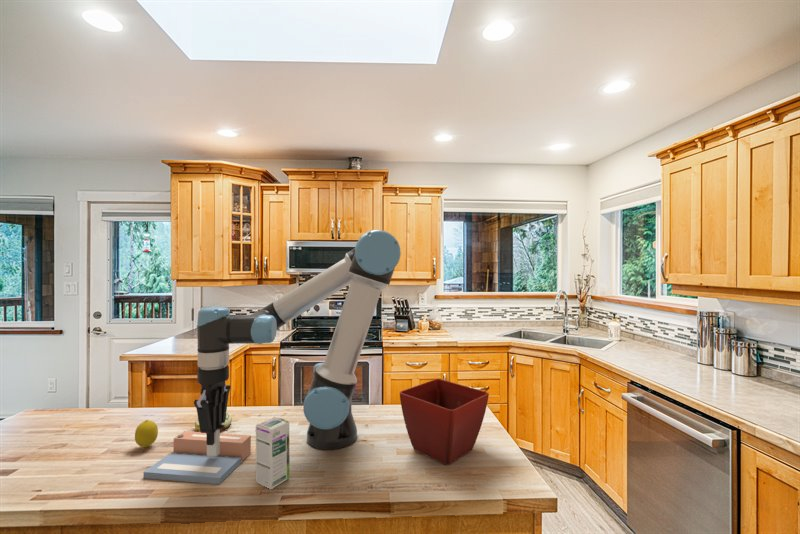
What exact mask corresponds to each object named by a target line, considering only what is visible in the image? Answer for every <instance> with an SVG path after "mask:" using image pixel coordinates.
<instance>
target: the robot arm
mask: <svg viewBox="0 0 800 534" xmlns="http://www.w3.org/2000/svg"><path fill="white" fill-rule="evenodd" d="M401 254H402V253H401V246H400V244H399V242H398V239H397V238H396V237H395V236H394V235H393V234H391V233H390V232H387V231H385V230H381V229H373V230H368V231H367V232H364V234H362V235H361V236H360V237H359V239H358V240H357V242H356V244H355V247H353V249H351V250H349V251H348V252H346V253H345V256H344V258H343V259H341V260H339V261H338V262H336V263H335V264H333V265H331V266H329V267H328V268H326V269H325V270H323V271H321V272H320V273H318V274H317V275H315V276H314V277H311V278H310V279H308V280H307V281H305V282H304V283H302V284H301V285H299V286H298V287H295V288H294V289H293V290H291V291H289V292H288V293H286V294H284V295H283V296H281V297H279V298H278V299H276V300H274V301H273V302H271V303H270V304H268V305H266V306H265V307H263V308H261V309H260V310H258V311H255V312H253V313H251V314H239V315H235V314H231V313H230V309H229V308H228V307H225V306H224V307H222V306H211V307H210V306H209V307H203V308H201V309H199V311H198V313H197V325H196V328H197V329H196V331H197V332H196V333H197V367H198V368H197V371H196V372H197V373H196V375H197V376H196V377H197V378H196V380H197V381H196V382H197V383H198V384H200V386H201V388H200V397H199V398H198V399H195V400H194V401H193V405H194V406H195V409H196V413H197V419H198V420H199V426H200V432H201V433H206V434H207V456H218V455H219V454H220V433H221V431H220V428H222V429H223V428H224V425H222V423H224V422H225V419H226V413H227V411H228V402H229V401H228V400H229V394H230V391H231V387H232V386H231V384H226V382H227V381H228V380H229V378H230V366H229V365H228V364H229V363H230V344H231V345H233V344H239V345H241V344H251V345H253V344H257V345H263V344H271V343H273V342H274V340H275V339H276V337H277V331H278V329H280V328H281V327H283V326H285V325H286V324H287V323H290V321H293V320H294V319H296V318H298V317H299V316H301V315H302V314H304V313H305V312H307V311H308V310H311V309H312V308H313V307H316V306H317V305H318V304H320V303H322V302H324V301H325V300H326V299H328V298H330V297H331V296H333V295H335V294H336V293H338V292H339V291H341V290H343V289H344V288H346V287H347V286H349V287H348V290H347V294H346V296H345V299H344V301H343V305H342V308H341V311H340V314H339V317H338V319H337V323H336V326H335V329H334V332H333V335H332V338H331V341H330V345H329V347H328V350H327V352H326V356H325V358H324V362H318V363H316V364H315V365H314V366H313V369H312V370H313V371H312V375H313V377H312V379H311V383H310V386H309V389H308V392H307V394H306V395H305V397H304V400H303V414H304V418H305V419H306V421H307V422H309V424H308V428H307V430H306V431H307V432H306V442H307V444H309V446H310V447H313V448H315V449H320V450H337V449H341V448H345V447H347V446H350V445H351V444H354V443H355V442H356V440H357V438H358V428H357V425H356V422H355V419H354V416H353V411H352V405H353V404H352V399H353V395H354V391H355V389H356V385H357V383H358V378H357V376H356V374H355V371H356V368H357V365H358V362H359V359H360V356H361V354H362V350H363V348H364V347H363V346H364V344H365V341H366V338H367V336H368V333H369V329H370V326H371V323H372V319H373V317H374V314H375V312H376V308H377V305H378V302H379V299H380V296H381V293H382V290H383V289H385V288H387V287H388V286H390V283H391V280H392V278H393V275H394V272H395V268H396V267H397V266H398V264H399V263H400V259H401ZM223 430H224V429H223Z"/></svg>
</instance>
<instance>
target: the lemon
mask: <svg viewBox="0 0 800 534" xmlns="http://www.w3.org/2000/svg"><path fill="white" fill-rule="evenodd" d="M158 434H159V428H158V425H157V423H156V422H154V421H152V420H149V419H145V420H144V421H142V422H141V423H139V424H138V425H137V426H136V429H135V432H134V440H135V441H134V442H135V443H136V444H137V445H138V446H140V447H143V448H144V449H148V447H150V446H151V445H152V444H154V443H155V441H156V440H157V438H158Z"/></svg>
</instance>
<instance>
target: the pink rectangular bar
mask: <svg viewBox="0 0 800 534" xmlns="http://www.w3.org/2000/svg"><path fill="white" fill-rule="evenodd" d="M251 445H252V435H250V434H249V435H248V434H234V433H221V432H220V454H219V455H223V456H237V457H241V462H244V461H245V459H246V458H247V457H248V456H249V455H251V453H252V446H251ZM172 452H180V453H194V454H207V434H206V433H201V432H198V431H187V430H185V431H183V432H181V433H179V434H177V435H176V436H175V437H174V438H173V451H172Z"/></svg>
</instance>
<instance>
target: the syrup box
mask: <svg viewBox="0 0 800 534" xmlns="http://www.w3.org/2000/svg"><path fill="white" fill-rule="evenodd" d="M290 477H291V476H290V421H289V420H288V419H287V420H286V419H284V418H282V417H276V416H274V417H272V418H269V419H267V420H264V421H262V422H260V423H257V424H256V425H255V478H256V479H255V481H256V483H257V484H258V485H260V484H261V486H262V485H263V486H262V487H264V486H265V488H266V487H267V489H268V488H269V490H271V489H272V490H273V489H274V488H276V487H277V486H279V485H280V484H282V483H284V482H285V481H288V480H289V479H290Z"/></svg>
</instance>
